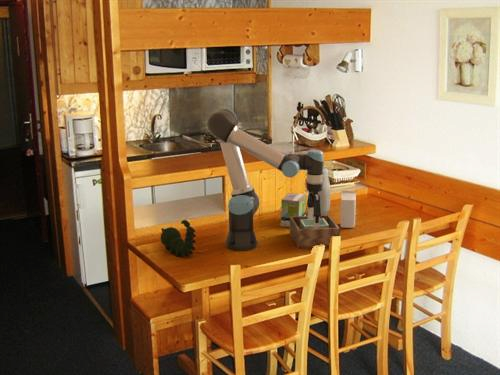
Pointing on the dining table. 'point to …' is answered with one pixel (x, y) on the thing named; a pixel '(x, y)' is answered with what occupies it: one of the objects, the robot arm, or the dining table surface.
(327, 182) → the glass bottle
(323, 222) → the small green crate
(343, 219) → the milk carton
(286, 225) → the tea box
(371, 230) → the dining table surface
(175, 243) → the toy figurine
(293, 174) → the robot arm
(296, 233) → the walnut crate
